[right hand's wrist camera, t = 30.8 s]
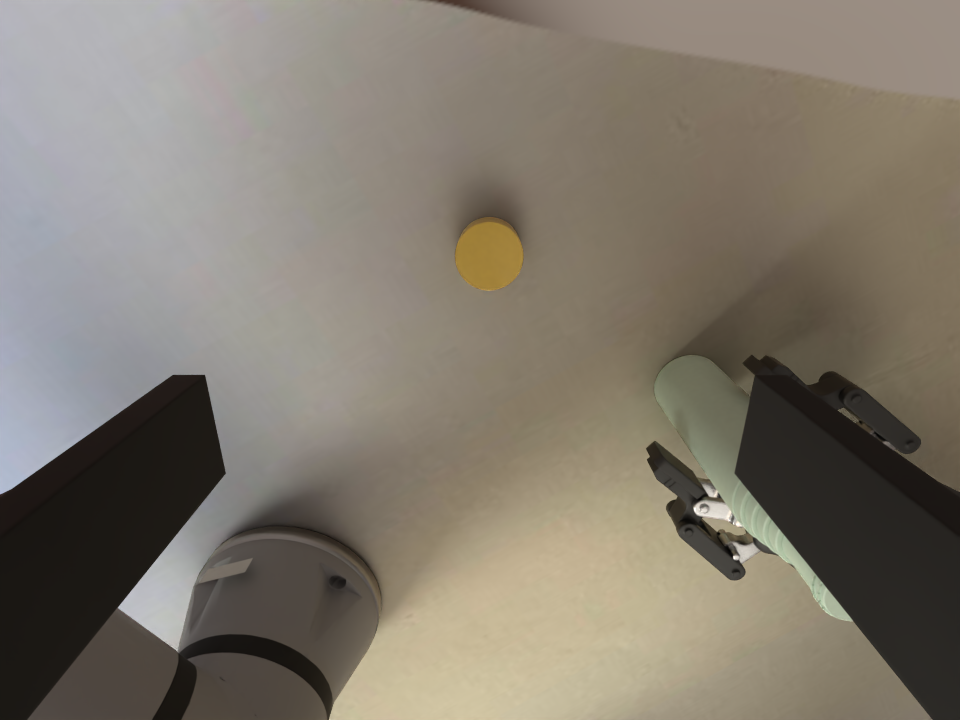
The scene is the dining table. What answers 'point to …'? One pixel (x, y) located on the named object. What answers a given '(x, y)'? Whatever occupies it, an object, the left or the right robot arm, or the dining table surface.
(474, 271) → the cap
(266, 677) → the right robot arm
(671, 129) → the dining table surface
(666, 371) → the bottle
